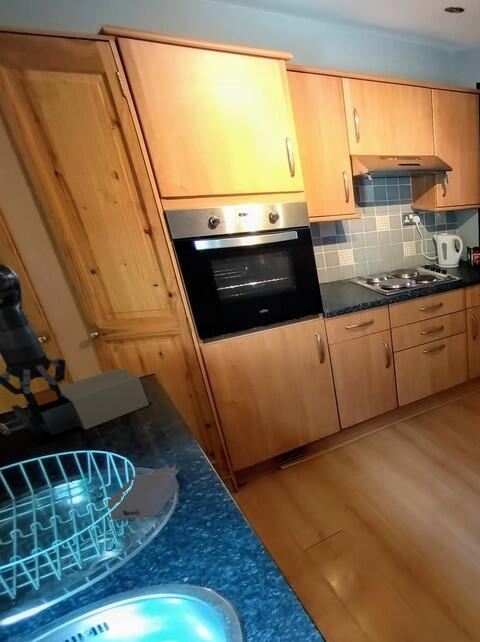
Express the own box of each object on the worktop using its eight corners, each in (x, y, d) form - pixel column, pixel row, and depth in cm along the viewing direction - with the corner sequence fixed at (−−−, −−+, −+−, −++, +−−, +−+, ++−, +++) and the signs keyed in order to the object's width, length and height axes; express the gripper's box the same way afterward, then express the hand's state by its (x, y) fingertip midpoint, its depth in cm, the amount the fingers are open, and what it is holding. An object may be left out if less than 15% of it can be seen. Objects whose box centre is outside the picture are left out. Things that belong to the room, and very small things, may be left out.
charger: (194, 472, 110) (157, 517, 97) (154, 475, 109) (110, 520, 96) (189, 456, 108) (150, 500, 95) (148, 459, 107) (102, 503, 94)
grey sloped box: (85, 430, 127) (72, 400, 123) (66, 418, 133) (52, 389, 129) (149, 405, 140) (138, 377, 136) (128, 395, 145) (118, 368, 141)
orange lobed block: (58, 399, 124) (54, 391, 123) (39, 405, 121) (35, 397, 120) (46, 392, 127) (42, 384, 126) (27, 398, 124) (23, 390, 123)
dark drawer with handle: (16, 452, 116) (3, 426, 113) (0, 439, 121) (-14, 414, 118) (107, 417, 131) (97, 393, 128) (89, 407, 136) (79, 384, 133)
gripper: (48, 331, 123) (72, 386, 130) (-27, 349, 112) (4, 408, 119) (59, 336, 120) (84, 392, 127) (-16, 355, 109) (15, 416, 116)
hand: (45, 400), depth 123 cm, fingers closed on orange lobed block, 4 cm apart
